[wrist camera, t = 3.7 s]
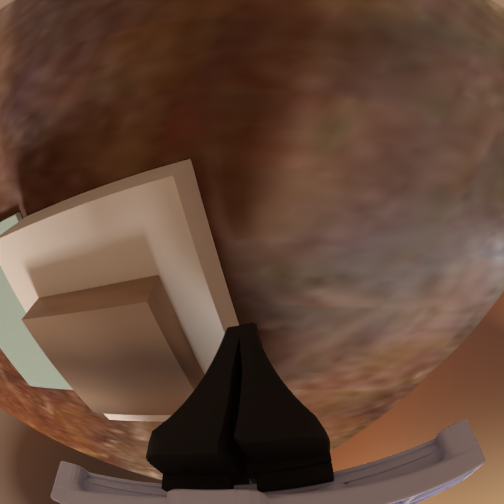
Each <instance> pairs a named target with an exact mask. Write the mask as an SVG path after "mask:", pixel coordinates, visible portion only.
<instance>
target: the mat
mask: <svg viewBox="0 0 504 504" xmlns="http://www.w3.org/2000/svg"><path fill="white" fill-rule="evenodd" d="M21 220H22V217H21V214H20V212H18V213H16V214H14V215H12V216H10V217H8V218H6V219H4V220H2V221H1V222H0V235H1V234H2V233H4V232H5V231H7V230H8V229H9V228H11V227H12V226H14V225H15V224H16V223H18V222H19V221H21ZM25 314H26V312H25V310H24V308H23V307H22V305H21V303H20V302H19V300H18V298H17V296H16V295H15V293H14V291H13V289H12V287H11V285H10V284H9V282H8V280H7V278H6V276H5V274H4V272H3V270H2V268H1V266H0V348H1V350H2V351H3V352H4V354H5V355H6V356H7V358H8V359H9V360H10V362H11V363H12V364H13V365H14V367H15V368H16V369H17V370H18V372H19V373H20V374H21V375H22V377H23V378H24V379H25V380H26V381H27V383H28V384H29V385H30V386H36V387H45V388H56V389H69V390H73V389H72V388H71V386H70V385H69V384H68V383H67V382H66V380H65V379H64V378H63V377H62V376H61V374H60V373H59V372H58V371H57V369H56V368H55V367H54V365H53V364H52V363H51V362H50V360H49V359H48V358H47V356H46V355H45V354H44V352H43V351H42V349H41V348H40V347H39V345H38V344H37V342H36V341H35V339H34V338H33V337H32V335H31V334H30V332H29V331H28V329H27V327H26V326H25V324H24V323H23V321H22V318H23V317H24V316H25Z"/></svg>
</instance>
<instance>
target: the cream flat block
mask: <svg viewBox="0 0 504 504" xmlns="http://www.w3.org/2000/svg"><path fill="white" fill-rule="evenodd" d="M0 266H1V268H2V270H3V272H4V274H5V276H6V278H7V280H8V282H9V284H10V285H11V287H12V289H13V291H14V293H15V295H16V296H17V298H18V300H19V302H20V303H21V305H22V307H23V308H24V310H25V312H26V313H27V312H28V311H29V309H30V308H31V307H32V306H33V304H34V303H35V302H36V301H37V299H38V298H41V297H46V296H52V295H57V294H62V293H67V292H73V291H78V290H83V289H88V288H93V287H98V286H104V285H109V284H114V283H119V282H124V281H129V280H135V279H140V278H145V277H150V276H155V275H159V277H160V279H161V282H162V284H163V287H164V289H165V291H166V294H167V296H168V298H169V301H170V303H171V305H172V307H173V310H174V312H175V314H176V316H177V319H178V321H179V323H180V325H181V327H182V330H183V332H184V334H185V336H186V338H187V340H188V342H189V344H190V346H191V348H192V351H193V353H194V355H195V357H196V359H197V361H198V363H199V365H200V367H201V369H202V371H203V372H204V374H205V373H206V372H207V370H208V368H209V366H210V365H211V363H212V361H213V359H214V357H215V355H216V353H217V351H218V349H219V346H220V344H221V342H222V339H223V337H224V334H225V331H226V329H227V328H228V327H233V326H239V323H238V320H237V317H236V313H235V310H234V307H233V304H232V301H231V297H230V294H229V291H228V288H227V284H226V281H225V278H224V275H223V271H222V268H221V265H220V261H219V258H218V254H217V251H216V248H215V244H214V241H213V237H212V234H211V230H210V227H209V224H208V220H207V216H206V213H205V209H204V206H203V202H202V199H201V195H200V191H199V188H198V184H197V180H196V177H195V173H194V169H193V166H192V162H191V159H188V160H184V161H180V162H177V163H173V164H170V165H166V166H163V167H159V168H156V169H152V170H149V171H146V172H143V173H139V174H136V175H133V176H130V177H127V178H124V179H121V180H118V181H115V182H112V183H109V184H106V185H104V186H101V187H98V188H95V189H92V190H90V191H87V192H84V193H82V194H79V195H77V196H74V197H71V198H69V199H66V200H64V201H61V202H59V203H57V204H54V205H52V206H49V207H47V208H45V209H42V210H40V211H38V212H35V213H33V214H31V215H29V216H27V217H25V218H24V219H22V220H21V221H19V222H18V223H16V224H15V225H14V226H12V227H11V228H9V229H8V230H7V231H5V232H4V233H2V234H1V235H0ZM103 414H104V413H103ZM104 415H105V416H106V417H107V418H108V419H109V420H126V421H166V420H167V419H168V418H169V417H170V416H172V415H121V414H104Z"/></svg>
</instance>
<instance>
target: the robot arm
mask: <svg viewBox="0 0 504 504" xmlns="http://www.w3.org/2000/svg"><path fill="white" fill-rule="evenodd" d="M146 458H147V461H148V462H149V463H150V464H151V465H152V466H154V467H155V468H156V469H157V470H159V471H160V472H161V473H163V479H162V484H158V483H148V482H140V481H133V480H125V479H120V478H114V477H108V476H103V475H98V474H94V473H89V472H87V471H86V470H85V469H84V468H82V467H80V466H78V465H75V464H72V463H68V462H64V461H61V463H60V466H59V469H58V472H57V476H56V479H55V483H54V486H53V490H52V493H51V499H53V500H55V501H57V502H59V503H60V504H416V503H419V502H421V501H423V500H425V499H428V498H430V497H432V496H434V495H436V494H438V493H440V492H442V491H444V490H446V489H448V488H450V487H452V486H454V485H456V484H458V483H460V482H461V481H463V480H465V479H466V478H467V477H468V476H470V475H471V474H472V473H473V472H475V471H476V470H477V469H478V468H479V467H480V466H482V465H483V464H484V463H485V461H486V459H485V457H484V455H483V453H482V450H481V448H480V446H479V444H478V442H477V439H476V437H475V435H474V434H473V431H472V429H471V427H470V425H469V423H468V421H467V419H463V420H461V421H459V422H457V423H455V424H453V425H451V426H448V427H447V428H445V429H443V430H442V431H440V432H439V433H438V435H437V437H436V439H433V440H431V441H429V442H426V443H424V444H422V445H419V446H416V447H414V448H412V449H409V450H406V451H403V452H401V453H398V454H395V455H392V456H389V457H387V458H383V459H380V460H377V461H374V462H370V463H367V464H363V465H360V466H357V467H352V468H348V469H344V470H340V471H336V472H333V468H332V463H331V456H330V440H329V437H328V435H327V433H326V431H325V430H324V428H323V426H322V425H321V423H320V422H319V421H318V419H317V418H316V416H315V415H314V414H313V413H311V412H310V411H309V410H308V409H307V408H306V407H305V406H304V405H303V404H302V403H301V402H300V401H299V400H298V399H297V398H296V397H295V396H294V395H293V394H292V392H291V391H290V390H289V389H288V388H287V387H286V385H285V384H284V383H283V381H282V380H281V379H280V377H279V376H278V374H277V373H276V371H275V370H274V368H273V367H272V365H271V363H270V362H269V360H268V358H267V356H266V354H265V352H264V350H263V348H262V344H261V340H260V337H259V333H258V329H257V325H256V324H254V323H251V324H245V325H239V326H233V327H228V328H227V329H226V331H225V334H224V337H223V339H222V342H221V344H220V346H219V349H218V351H217V353H216V355H215V357H214V359H213V361H212V363H211V365H210V366H209V368H208V370H207V372H206V373H205V375H204V377H203V378H202V380H201V381H200V383H199V384H198V386H197V387H196V388H195V390H194V391H193V392H192V394H191V395H190V396H189V397H188V399H187V400H186V401H185V402H184V403H183V404H182V405H181V406H180V407H179V408H178V410H177V411H176V412H175V413H174V414H173V415H172V416H170V417H169V418H168V419H167V420H166V421H165V422H164V423H162V424H161V425H160V426H159V427H157V428H156V429H155V430H153V431H152V434H151V437H150V440H149V445H148V450H147V455H146Z"/></svg>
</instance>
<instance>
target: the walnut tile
mask: <svg viewBox="0 0 504 504" xmlns="http://www.w3.org/2000/svg"><path fill="white" fill-rule="evenodd" d="M22 321H23V323H24V324H25V326H26V327H27V329H28V331H29V332H30V334H31V335H32V337H33V338H34V339H35V341H36V342H37V344H38V345H39V347H40V348H41V349H42V351H43V352H44V354H45V355H46V356H47V358H48V359H49V360H50V362H51V363H52V364H53V365H54V367H55V368H56V369H57V371H58V372H59V373H60V374H61V376H62V377H63V378H64V379H65V380H66V382H67V383H68V384H69V385H70V386H71V388H72V389H73V390H74V391H75V392H76V393H77V394H78V396H79V397H80V398H81V399H82V400H83V401H84V402H85V403H86V404H87V405H88V407H89V408H90V409H91V410H92V411H93V412H94V413H104V414H121V415H173V414H174V413H175V412H176V411H177V410H178V408H179V407H180V406H181V405H182V404H183V403H184V402H185V401H186V400H187V399H188V397H189V396H190V395H191V394H192V392H193V391H194V390H195V388H196V387H197V386H198V384H199V383H200V381H201V380H202V378H203V377H204V375H205V374H204V372H203V371H202V369H201V367H200V365H199V363H198V361H197V359H196V357H195V355H194V353H193V351H192V348H191V346H190V344H189V342H188V340H187V338H186V336H185V334H184V332H183V330H182V327H181V325H180V323H179V321H178V319H177V316H176V314H175V312H174V310H173V307H172V305H171V303H170V301H169V298H168V296H167V294H166V291H165V289H164V287H163V284H162V282H161V279H160V277H159V275H155V276H150V277H145V278H140V279H135V280H129V281H124V282H119V283H114V284H109V285H104V286H98V287H93V288H88V289H83V290H78V291H73V292H67V293H62V294H57V295H52V296H46V297H41V298H38V299H37V301H36V302H35V303H34V304H33V306H32V307H31V308H30V309H29V311H28V312H27V313H26V314H25V316H24V317H23V318H22Z"/></svg>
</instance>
